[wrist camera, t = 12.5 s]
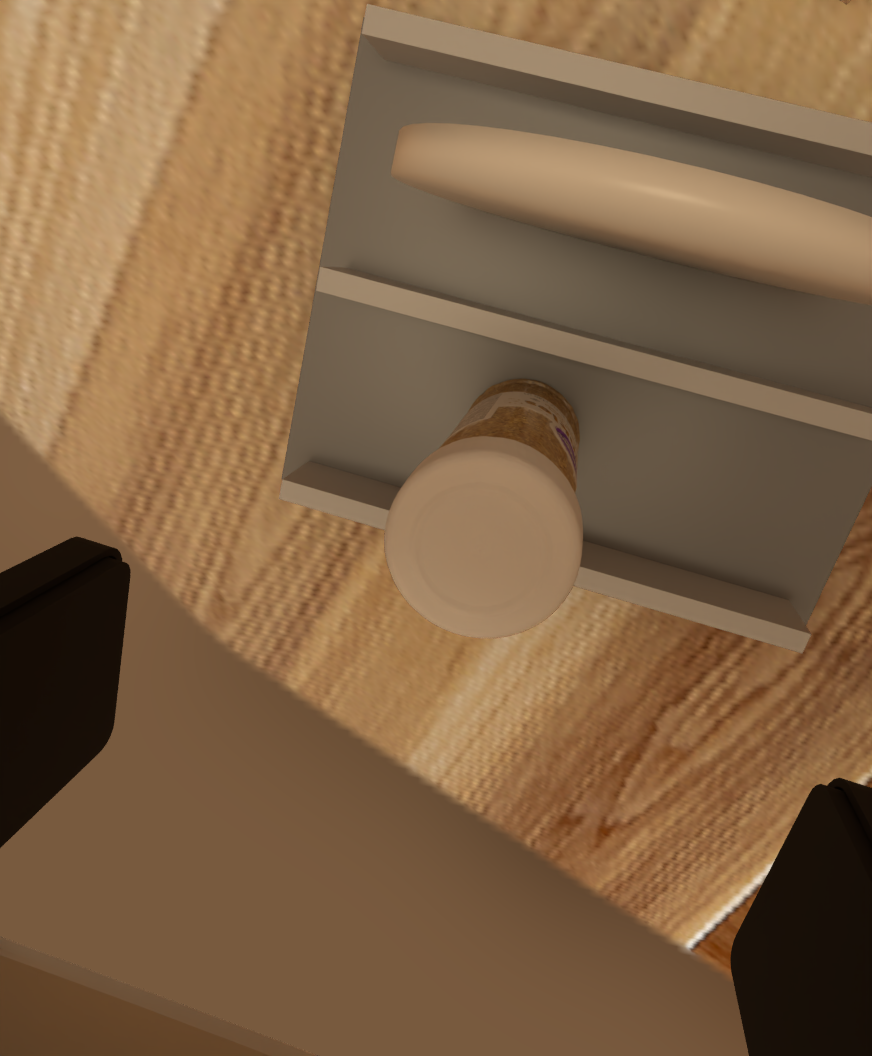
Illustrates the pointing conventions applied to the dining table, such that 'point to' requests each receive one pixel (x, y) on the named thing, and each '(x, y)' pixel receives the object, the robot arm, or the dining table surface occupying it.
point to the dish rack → (602, 309)
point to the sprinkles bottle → (492, 516)
